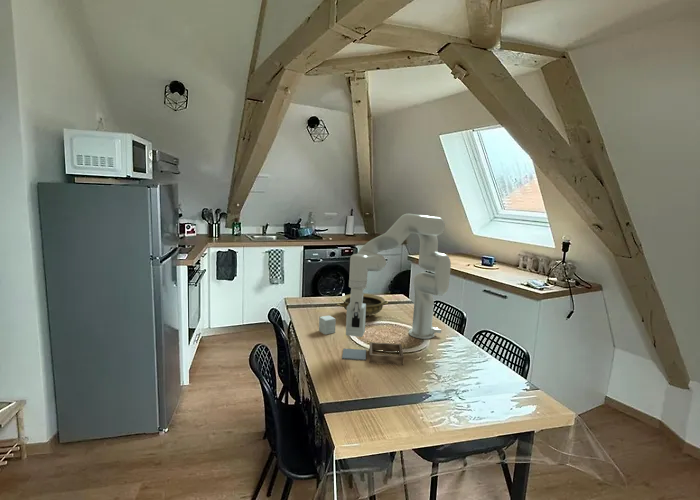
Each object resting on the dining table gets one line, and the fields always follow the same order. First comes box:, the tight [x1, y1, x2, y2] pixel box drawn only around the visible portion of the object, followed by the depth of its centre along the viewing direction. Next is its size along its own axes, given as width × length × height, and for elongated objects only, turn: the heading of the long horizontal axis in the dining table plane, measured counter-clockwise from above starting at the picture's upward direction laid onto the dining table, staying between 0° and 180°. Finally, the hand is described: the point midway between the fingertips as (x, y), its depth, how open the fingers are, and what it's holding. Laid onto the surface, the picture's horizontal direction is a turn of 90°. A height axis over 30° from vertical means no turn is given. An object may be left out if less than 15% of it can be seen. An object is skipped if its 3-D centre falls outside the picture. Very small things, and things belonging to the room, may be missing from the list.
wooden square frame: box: [368, 341, 405, 366], centre depth 180 cm, size 14×14×4 cm
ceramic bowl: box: [336, 293, 389, 319], centre depth 233 cm, size 30×24×10 cm
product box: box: [318, 315, 337, 336], centre depth 207 cm, size 6×6×7 cm
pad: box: [341, 348, 367, 362], centre depth 181 cm, size 10×10×1 cm
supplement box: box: [345, 303, 366, 338], centre depth 178 cm, size 7×7×13 cm
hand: (355, 323), depth 179 cm, fingers closed on supplement box, 7 cm apart
